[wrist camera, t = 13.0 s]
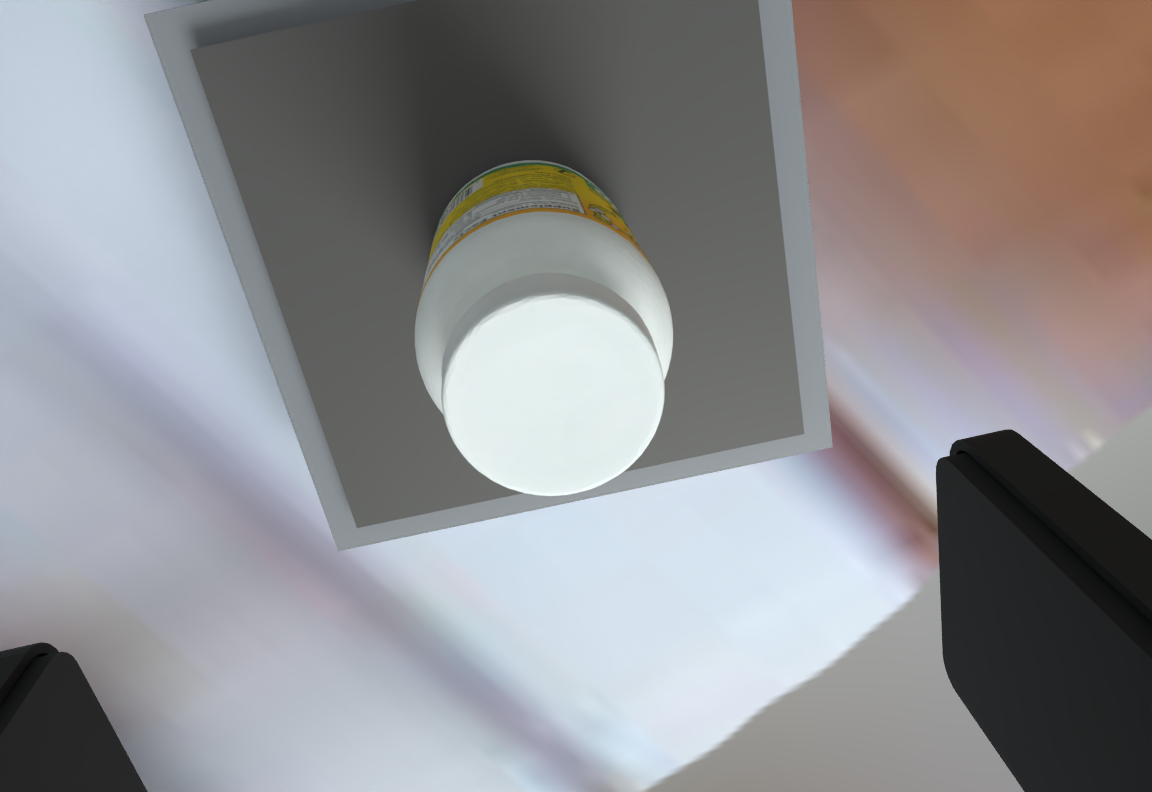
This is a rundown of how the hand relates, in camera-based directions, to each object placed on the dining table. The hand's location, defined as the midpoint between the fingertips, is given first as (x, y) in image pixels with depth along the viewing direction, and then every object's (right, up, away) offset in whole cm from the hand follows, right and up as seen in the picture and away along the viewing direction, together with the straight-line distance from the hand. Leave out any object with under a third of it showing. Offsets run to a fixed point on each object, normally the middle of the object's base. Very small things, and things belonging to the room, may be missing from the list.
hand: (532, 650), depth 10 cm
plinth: (-1, +8, +20) cm, 21 cm away
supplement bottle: (-1, +7, +15) cm, 17 cm away
